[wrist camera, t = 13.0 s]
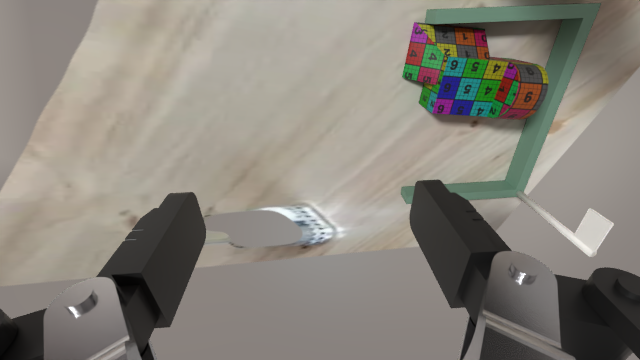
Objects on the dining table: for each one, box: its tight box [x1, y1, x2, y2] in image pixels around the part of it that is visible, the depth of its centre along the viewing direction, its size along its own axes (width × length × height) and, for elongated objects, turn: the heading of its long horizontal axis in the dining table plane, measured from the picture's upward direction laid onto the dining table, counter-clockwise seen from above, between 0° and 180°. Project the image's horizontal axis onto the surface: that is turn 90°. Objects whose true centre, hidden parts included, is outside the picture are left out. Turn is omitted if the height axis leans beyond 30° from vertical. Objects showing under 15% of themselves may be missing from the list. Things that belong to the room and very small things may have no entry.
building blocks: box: [402, 22, 549, 120], centre depth 36 cm, size 15×10×8 cm
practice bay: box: [401, 3, 614, 257], centre depth 35 cm, size 28×20×17 cm
